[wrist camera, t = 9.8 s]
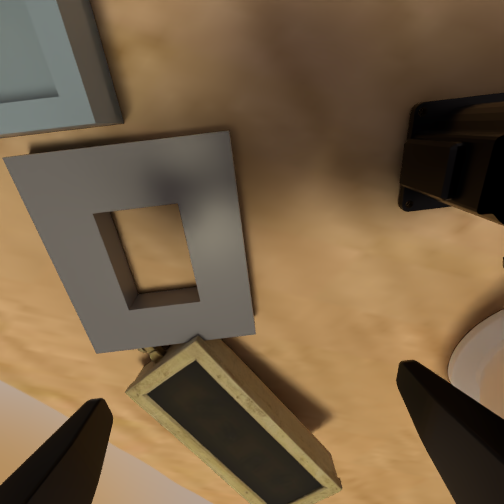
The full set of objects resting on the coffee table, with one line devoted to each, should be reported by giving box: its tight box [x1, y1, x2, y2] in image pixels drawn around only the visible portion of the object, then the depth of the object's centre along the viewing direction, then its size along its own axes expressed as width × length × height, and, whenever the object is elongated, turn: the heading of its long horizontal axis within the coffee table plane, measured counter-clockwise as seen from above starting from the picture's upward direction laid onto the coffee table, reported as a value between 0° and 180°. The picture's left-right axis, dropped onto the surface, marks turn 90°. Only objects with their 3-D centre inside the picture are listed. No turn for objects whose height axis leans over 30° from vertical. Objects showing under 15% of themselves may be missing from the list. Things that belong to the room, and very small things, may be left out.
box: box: [125, 336, 342, 504], centre depth 24 cm, size 8×22×5 cm, turn 41°
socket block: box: [3, 130, 256, 354], centre depth 18 cm, size 12×14×2 cm
